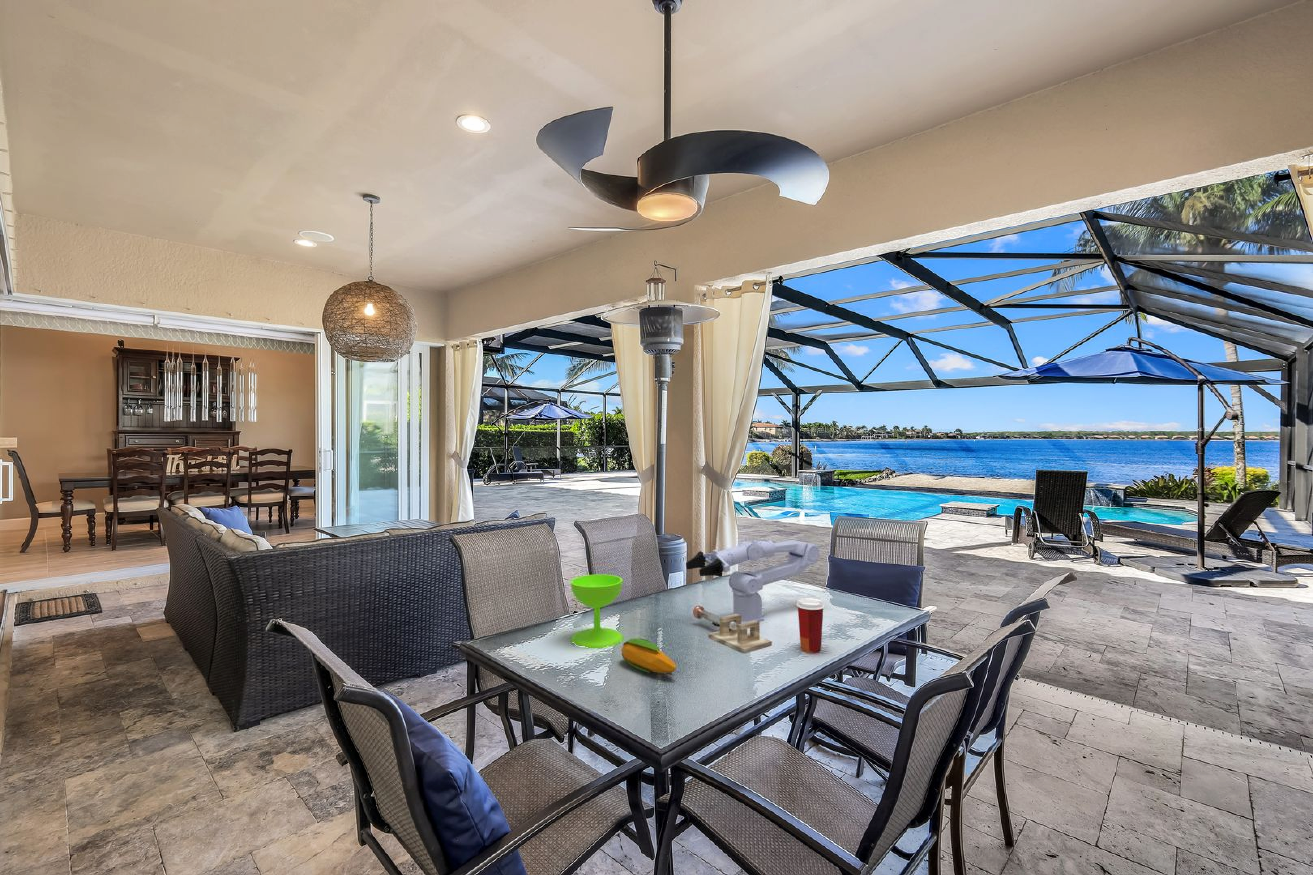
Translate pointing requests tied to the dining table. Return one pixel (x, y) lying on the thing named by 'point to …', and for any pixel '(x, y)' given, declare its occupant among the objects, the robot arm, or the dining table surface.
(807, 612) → the paper cup
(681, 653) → the dining table surface
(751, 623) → the bearing block
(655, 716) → the dining table surface
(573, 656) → the dining table surface
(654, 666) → the corn
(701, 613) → the shaft
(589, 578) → the wineglass
